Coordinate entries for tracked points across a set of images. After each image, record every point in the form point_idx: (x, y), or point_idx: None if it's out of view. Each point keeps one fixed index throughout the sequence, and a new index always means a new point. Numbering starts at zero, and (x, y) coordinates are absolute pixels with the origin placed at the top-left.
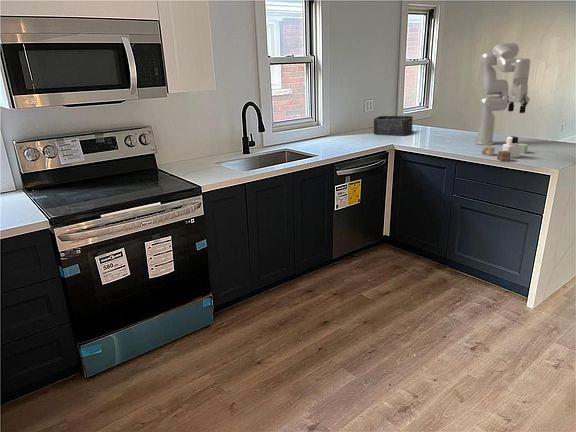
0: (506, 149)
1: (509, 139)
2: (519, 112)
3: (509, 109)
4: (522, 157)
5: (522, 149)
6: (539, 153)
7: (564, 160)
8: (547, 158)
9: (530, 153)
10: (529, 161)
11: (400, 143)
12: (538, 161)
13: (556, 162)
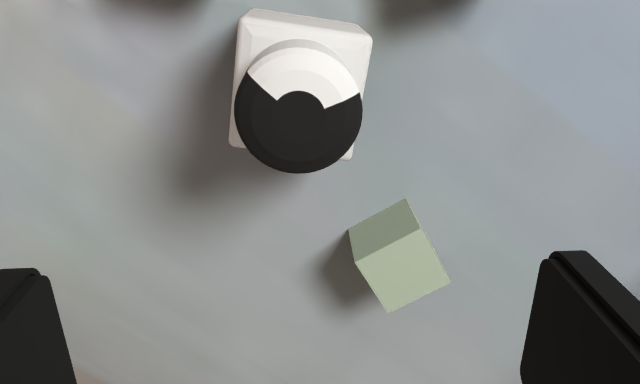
0: (283, 18)
1: (275, 51)
2: (40, 276)
3: (570, 297)
4: None
5: (364, 238)
6: (303, 316)
7: None
8: (144, 268)
9: (329, 268)
10: (83, 96)
11: None
12: (67, 156)
13: (10, 242)
